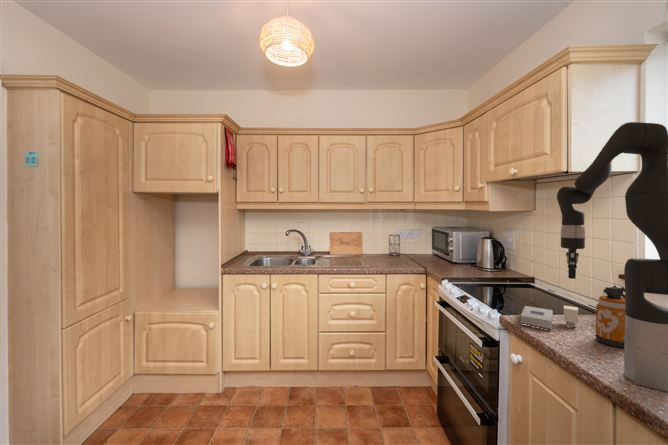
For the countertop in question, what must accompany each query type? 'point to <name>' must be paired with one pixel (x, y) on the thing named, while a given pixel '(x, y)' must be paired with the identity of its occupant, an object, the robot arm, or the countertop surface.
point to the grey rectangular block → (537, 317)
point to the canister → (611, 317)
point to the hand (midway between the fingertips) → (571, 276)
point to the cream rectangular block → (570, 315)
